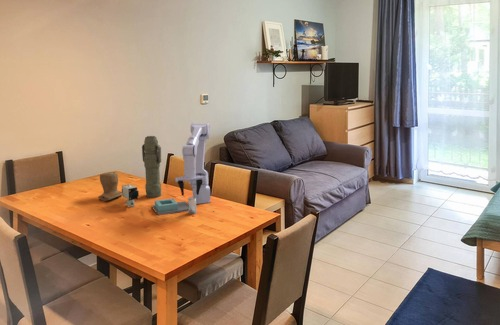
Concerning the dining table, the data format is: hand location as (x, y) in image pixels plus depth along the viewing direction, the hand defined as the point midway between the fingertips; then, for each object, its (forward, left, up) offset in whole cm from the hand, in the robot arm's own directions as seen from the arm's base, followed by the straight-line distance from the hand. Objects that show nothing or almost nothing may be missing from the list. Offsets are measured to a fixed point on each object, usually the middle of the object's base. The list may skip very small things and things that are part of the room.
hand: (190, 194), depth 217 cm
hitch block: (+7, -11, -10) cm, 16 cm away
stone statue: (+11, -39, -10) cm, 41 cm away
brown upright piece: (+35, -45, -10) cm, 58 cm away
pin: (-1, 0, -10) cm, 10 cm away
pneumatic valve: (+26, -25, -10) cm, 37 cm away
